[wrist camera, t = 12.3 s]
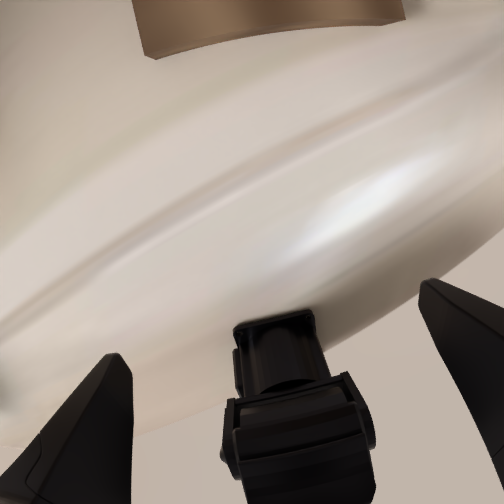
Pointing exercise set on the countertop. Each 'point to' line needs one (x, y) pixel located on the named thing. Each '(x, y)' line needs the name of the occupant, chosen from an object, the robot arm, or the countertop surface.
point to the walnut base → (247, 19)
